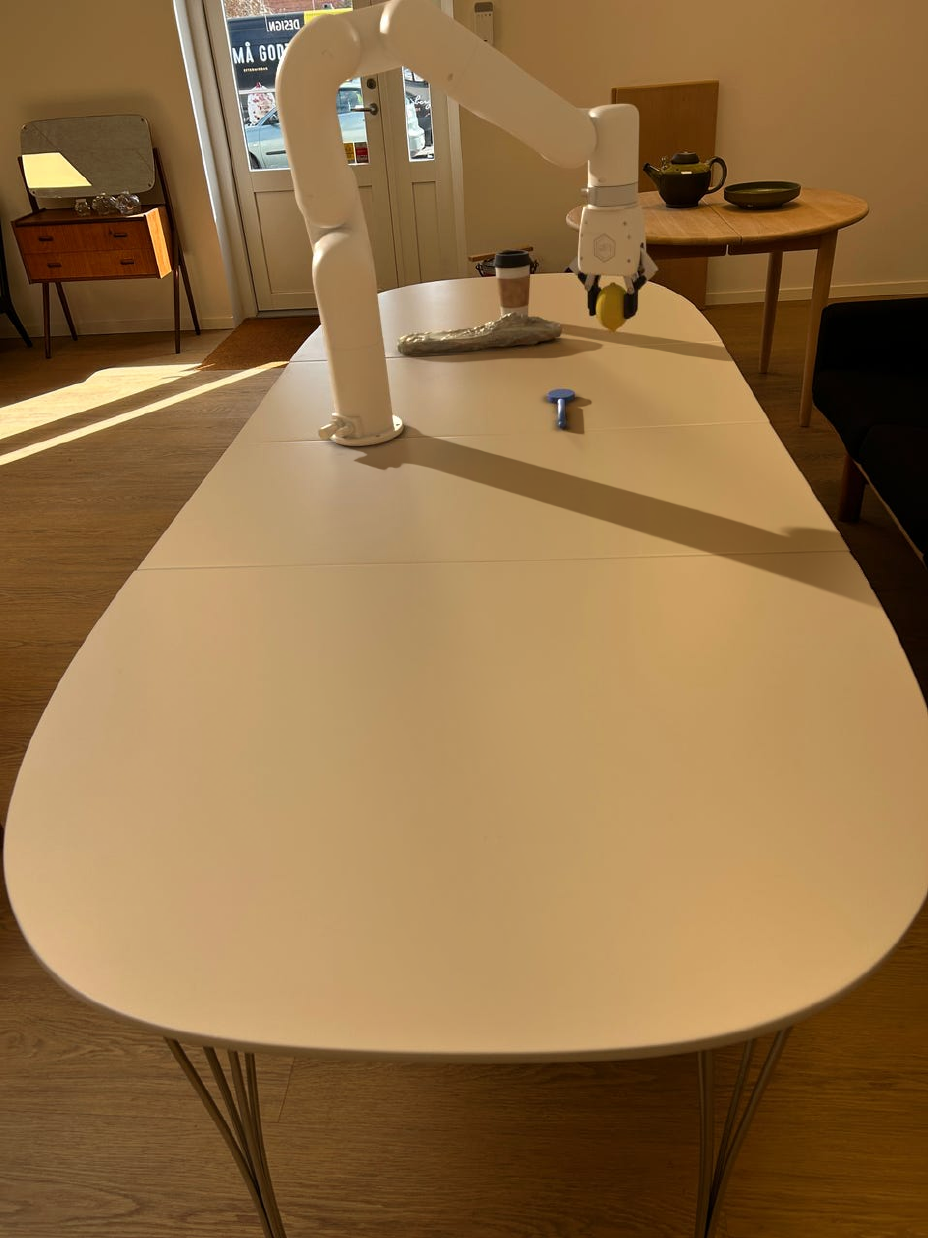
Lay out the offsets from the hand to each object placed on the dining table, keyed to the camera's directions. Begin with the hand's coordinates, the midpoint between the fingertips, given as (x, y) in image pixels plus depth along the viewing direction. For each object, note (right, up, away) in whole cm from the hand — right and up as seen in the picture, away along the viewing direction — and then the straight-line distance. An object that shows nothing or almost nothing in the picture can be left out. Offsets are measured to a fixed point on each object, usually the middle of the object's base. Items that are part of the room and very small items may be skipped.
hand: (612, 314), depth 153 cm
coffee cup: (-13, +18, +59) cm, 63 cm away
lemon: (0, -3, +2) cm, 3 cm away
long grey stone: (-21, +8, +45) cm, 50 cm away
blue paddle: (-8, -14, +8) cm, 18 cm away
